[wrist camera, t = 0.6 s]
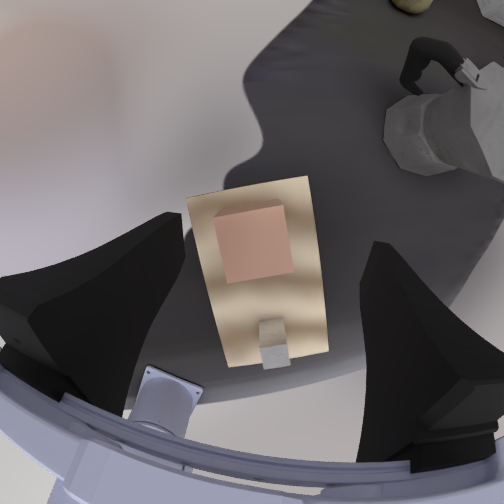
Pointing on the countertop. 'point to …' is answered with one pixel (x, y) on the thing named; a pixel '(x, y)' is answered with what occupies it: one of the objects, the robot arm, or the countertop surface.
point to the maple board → (268, 288)
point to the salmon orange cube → (253, 241)
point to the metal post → (273, 343)
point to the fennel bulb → (413, 5)
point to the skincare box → (492, 10)
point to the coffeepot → (448, 116)
